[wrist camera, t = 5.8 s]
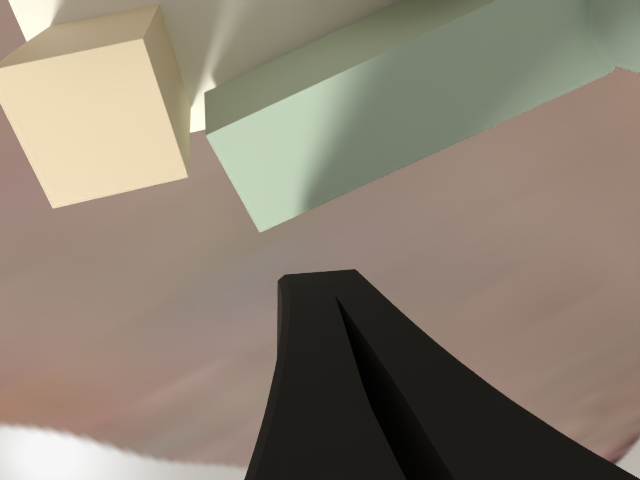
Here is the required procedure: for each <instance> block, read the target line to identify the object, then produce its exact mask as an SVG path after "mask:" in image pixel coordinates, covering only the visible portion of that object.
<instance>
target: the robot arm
mask: <svg viewBox="0 0 640 480" xmlns="http://www.w3.org/2000/svg"><path fill="white" fill-rule="evenodd" d="M244 480H640V479H639V478H637V477H635V476H634V475H632V474H630V473H628V472H626V471H625V470H623V469H621V468H620V467H618V466H616V465H614V464H613V463H611V462H609V461H607V460H606V459H604V458H602V457H600V456H599V455H597V454H595V453H593V452H592V451H590V450H588V449H587V448H585V447H583V446H582V445H580V444H578V443H577V442H575V441H573V440H572V439H570V438H569V437H567V436H565V435H564V434H562V433H560V432H559V431H557V430H556V429H554V428H553V427H551V426H550V425H548V424H547V423H545V422H544V421H542V420H541V419H539V418H538V417H536V416H535V415H533V414H532V413H530V412H529V411H527V410H526V409H524V408H523V407H521V406H519V405H518V404H516V403H515V402H514V401H512V400H511V399H509V398H508V397H506V396H505V395H504V394H502V393H501V392H499V391H498V390H497V389H495V388H494V387H492V386H491V385H490V384H488V383H487V382H486V381H485V380H483V379H482V378H481V377H479V376H478V375H477V374H475V373H474V372H473V371H471V370H470V369H469V368H468V367H466V366H465V365H464V364H462V363H461V362H460V361H458V360H457V359H456V358H455V357H453V356H452V355H451V354H450V353H449V352H447V351H446V350H445V349H444V348H442V347H441V346H440V345H439V344H438V343H436V342H435V341H434V340H433V339H432V338H430V337H429V336H428V335H427V334H426V333H425V332H423V331H422V330H421V329H420V328H419V327H418V326H417V325H415V324H414V323H413V322H412V321H411V320H410V319H409V318H407V317H406V316H405V315H404V314H403V313H402V312H401V311H400V310H399V309H398V308H396V307H395V306H394V305H393V304H392V303H391V302H390V301H389V300H388V299H387V298H386V297H385V296H383V295H382V294H381V293H380V292H379V291H378V290H377V289H376V288H375V287H374V286H373V285H372V284H371V283H370V282H368V281H367V280H366V279H365V278H364V277H363V276H362V275H361V274H360V273H359V272H358V271H356V270H355V269H352V270H339V271H326V272H314V273H301V274H288V275H284V276H283V277H282V278H280V279H279V280H278V316H277V361H276V367H275V371H274V376H273V380H272V385H271V389H270V393H269V398H268V402H267V406H266V410H265V414H264V418H263V421H262V425H261V429H260V432H259V435H258V439H257V442H256V445H255V449H254V452H253V455H252V458H251V461H250V464H249V467H248V470H247V473H246V476H245V479H244Z"/></svg>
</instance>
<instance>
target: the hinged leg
mask: <svg viewBox="0 0 640 480" xmlns="http://www.w3.org/2000/svg"><path fill="white" fill-rule="evenodd" d="M615 66H618V67H621V68H624V69H627V70H630V71H634V72H640V0H401V1H399V2H397V3H395V4H392V5H390V6H388V7H386V8H384V9H382V10H380V11H378V12H375V13H373V14H371V15H369V16H367V17H365V18H363V19H360V20H358V21H356V22H354V23H352V24H350V25H348V26H345V27H343V28H341V29H339V30H337V31H335V32H333V33H330V34H328V35H326V36H324V37H322V38H320V39H318V40H316V41H313V42H311V43H309V44H307V45H305V46H303V47H301V48H298V49H296V50H294V51H292V52H290V53H288V54H286V55H283V56H281V57H279V58H277V59H275V60H273V61H271V62H268V63H266V64H264V65H262V66H260V67H258V68H256V69H254V70H251V71H249V72H247V73H245V74H243V75H241V76H239V77H236V78H234V79H232V80H230V81H228V82H226V83H224V84H221V85H219V86H217V87H215V88H213V89H211V90H209V91H206V92H204V102H205V130H206V137H207V139H208V141H209V142H210V144H211V146H212V148H213V149H214V151H215V153H216V155H217V157H218V158H219V160H220V162H221V164H222V166H223V167H224V169H225V171H226V173H227V175H228V176H229V178H230V180H231V182H232V184H233V185H234V187H235V189H236V191H237V193H238V194H239V196H240V198H241V200H242V202H243V203H244V205H245V207H246V209H247V210H248V212H249V214H250V216H251V218H252V219H253V221H254V223H255V225H256V227H257V228H258V230H259V232H262V231H264V230H267V229H269V228H271V227H273V226H275V225H278V224H280V223H282V222H284V221H286V220H289V219H291V218H293V217H295V216H297V215H300V214H302V213H304V212H306V211H308V210H311V209H313V208H315V207H317V206H319V205H322V204H324V203H326V202H328V201H330V200H333V199H335V198H337V197H339V196H341V195H344V194H346V193H348V192H350V191H352V190H354V189H357V188H359V187H361V186H363V185H365V184H368V183H370V182H372V181H374V180H376V179H379V178H381V177H383V176H385V175H387V174H390V173H392V172H394V171H396V170H398V169H401V168H403V167H405V166H407V165H409V164H412V163H414V162H416V161H418V160H420V159H423V158H425V157H427V156H429V155H431V154H434V153H436V152H438V151H440V150H442V149H445V148H447V147H449V146H451V145H453V144H456V143H458V142H460V141H462V140H464V139H467V138H469V137H471V136H473V135H475V134H478V133H480V132H482V131H484V130H486V129H489V128H491V127H493V126H495V125H497V124H500V123H502V122H504V121H506V120H508V119H511V118H513V117H515V116H517V115H519V114H522V113H524V112H526V111H528V110H530V109H533V108H535V107H537V106H539V105H541V104H544V103H546V102H548V101H550V100H552V99H555V98H557V97H559V96H561V95H563V94H566V93H568V92H570V91H572V90H574V89H577V88H579V87H581V86H583V85H585V84H588V83H590V82H592V81H594V80H596V79H599V78H601V77H603V76H605V75H607V74H610V73H612V72H614V71H615Z"/></svg>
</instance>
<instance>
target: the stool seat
mask: <svg viewBox="0 0 640 480" xmlns="http://www.w3.org/2000/svg"><path fill="white" fill-rule="evenodd" d="M399 1H401V0H9V3H10V5H11V7H12V9H13V12H14V14H15V16H16V18H17V21H18V23H19V25H20V27H21V30H22V32H23V34H24V36H25V39H26V41H27V42H26V43H25V44H23V45H22V46H20V47H19V48H17V49H16V50H15V51H13V52H12V53H10V54H9V55H7V56H6V57H4V58H3V59H2V60H0V104H1V106H2V108H3V110H4V112H5V114H6V116H7V118H8V120H9V122H10V124H11V126H12V128H13V130H14V132H15V134H16V136H17V138H18V140H19V142H20V144H21V146H22V148H23V150H24V152H25V154H26V156H27V158H28V160H29V162H30V164H31V166H32V168H33V170H34V172H35V174H36V176H37V178H38V180H39V182H40V184H41V186H42V188H43V190H44V192H45V194H46V196H47V198H48V200H49V202H50V204H51V206H52V208H57V207H62V206H66V205H70V204H75V203H79V202H83V201H88V200H92V199H96V198H101V197H105V196H109V195H114V194H118V193H122V192H127V191H131V190H135V189H140V188H144V187H148V186H153V185H157V184H161V183H166V182H170V181H174V180H179V179H183V178H187V177H188V171H189V145H190V133H191V132H195V131H200V130H204V129H205V102H204V92H206V91H209V90H211V89H213V88H215V87H217V86H219V85H221V84H224V83H226V82H228V81H230V80H232V79H234V78H236V77H239V76H241V75H243V74H245V73H247V72H249V71H251V70H254V69H256V68H258V67H260V66H262V65H264V64H266V63H268V62H271V61H273V60H275V59H277V58H279V57H281V56H283V55H286V54H288V53H290V52H292V51H294V50H296V49H298V48H301V47H303V46H305V45H307V44H309V43H311V42H313V41H316V40H318V39H320V38H322V37H324V36H326V35H328V34H330V33H333V32H335V31H337V30H339V29H341V28H343V27H345V26H348V25H350V24H352V23H354V22H356V21H358V20H360V19H363V18H365V17H367V16H369V15H371V14H373V13H375V12H378V11H380V10H382V9H384V8H386V7H388V6H390V5H392V4H395V3H397V2H399Z"/></svg>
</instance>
